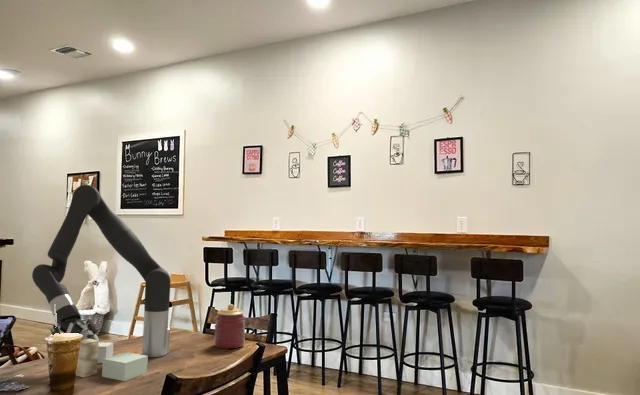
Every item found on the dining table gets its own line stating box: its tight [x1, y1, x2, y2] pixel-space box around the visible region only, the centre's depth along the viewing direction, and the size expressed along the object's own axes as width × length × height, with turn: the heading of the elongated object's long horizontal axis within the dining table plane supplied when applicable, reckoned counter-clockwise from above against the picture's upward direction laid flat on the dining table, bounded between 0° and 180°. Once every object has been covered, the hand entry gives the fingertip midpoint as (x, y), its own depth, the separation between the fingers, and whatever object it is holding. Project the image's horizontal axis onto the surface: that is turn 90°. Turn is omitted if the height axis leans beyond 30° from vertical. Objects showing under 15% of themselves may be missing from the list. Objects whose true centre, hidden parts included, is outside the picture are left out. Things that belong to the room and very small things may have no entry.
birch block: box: [76, 339, 100, 378], centre depth 162 cm, size 5×5×11 cm
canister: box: [213, 303, 247, 349], centre depth 206 cm, size 13×13×18 cm
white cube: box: [98, 341, 114, 364], centre depth 178 cm, size 6×6×6 cm
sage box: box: [101, 351, 149, 382], centre depth 163 cm, size 10×10×6 cm
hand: (82, 348), depth 164 cm, fingers open, 8 cm apart
